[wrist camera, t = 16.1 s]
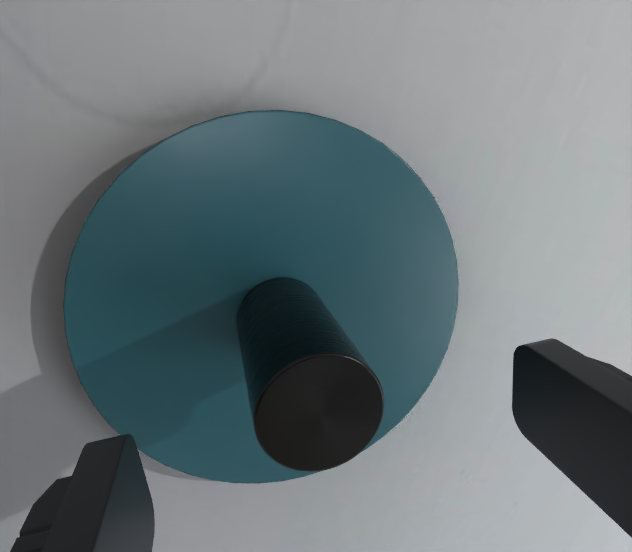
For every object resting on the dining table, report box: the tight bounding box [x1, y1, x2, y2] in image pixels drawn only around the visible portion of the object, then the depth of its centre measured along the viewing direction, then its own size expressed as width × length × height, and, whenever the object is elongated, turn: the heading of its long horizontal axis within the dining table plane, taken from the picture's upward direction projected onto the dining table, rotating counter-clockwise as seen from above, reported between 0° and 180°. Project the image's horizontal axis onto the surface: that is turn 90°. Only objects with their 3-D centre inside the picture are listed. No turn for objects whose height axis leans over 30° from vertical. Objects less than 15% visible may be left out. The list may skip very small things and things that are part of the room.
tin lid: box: [64, 110, 458, 483], centre depth 13 cm, size 13×13×7 cm
